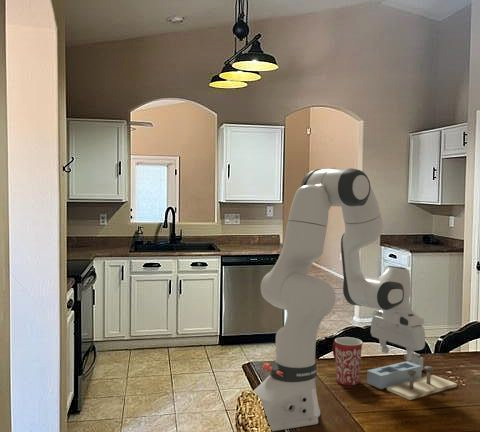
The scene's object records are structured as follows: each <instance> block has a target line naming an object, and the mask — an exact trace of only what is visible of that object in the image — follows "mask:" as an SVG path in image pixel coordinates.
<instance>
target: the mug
mask: <svg viewBox="0 0 480 432" xmlns="http://www.w3.org/2000/svg"><path fill="white" fill-rule="evenodd" d="M363 344H364V343H363V341H362V340H361V339H359V338H357V337H356V338H355V337H350V336H344V337H343V336H342V337H336V338H335V339H334V342H333V343H332V355H333V357H334V363H335V374H336V375H335V378H336V379H335V380H336V382H337V383H339V384H340V385H345V386H355V385H358V384H359V382H360V371H361V361H362V351H363V350H362V348H363Z"/></svg>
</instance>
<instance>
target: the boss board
mask: <svg viewBox="0 0 480 432" xmlns="http://www.w3.org/2000/svg"><path fill="white" fill-rule="evenodd" d="M423 370H426V376H423V377H421V378H419V379H416V380H414V375H416V371H413V370H408V371H407V373H408V374H410V381H408V382H404V383H400V384H396V385H393V386H389V387H387V388H386V391H388V392H390V393H392V394H395V395H398V396H400V397H401V398H404V399H406V400H408V401H411V400H415V399H419V398H421V397H426V396H429V395H432V394H435V393H440V392H443V391H447V390H449V389H450V390H451V389H453V388H456V387H457V385H458V383H456V382H455V381H451V380H448V379H445V378H443V377H440V376H437V375H435V374H431V373H432V372H431V371H434V367H432V366H430V365H426V366H424V367H423Z"/></svg>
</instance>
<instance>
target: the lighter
mask: <svg viewBox="0 0 480 432" xmlns="http://www.w3.org/2000/svg"><path fill="white" fill-rule="evenodd" d="M405 350H406V354H407V353H408V351H407V347H405ZM410 362H411V363H414V364H417V365H420V366H422V371H424V357H422V356H421V353H417V352H415V351H414V352H413V354H412V355H411V361H410Z"/></svg>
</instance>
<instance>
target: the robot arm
mask: <svg viewBox="0 0 480 432" xmlns="http://www.w3.org/2000/svg"><path fill="white" fill-rule="evenodd" d="M331 207H340V208H341V212H342V217H343V222H344V233H343V234H342V235H341V239H340V254H341V255H340V256H341V263H342V273H343V282H342V293H343V297H344V298H345V300H346V301H347V303H348V304H349V305H352V306H359V307H365V308H371V309H375V310H374V311H373V312H372V317H371V322H370V323H371V324H370V335H371V337H373V338H376V339H378V341H379V344H380V347H381V353H383V354H388V353H389V351H390V347H388V346H387V342H389V343H392V344H395V345H398V346H399V347H403V348H406V347H407V350H406V354H403V359H404V361H405V362H406V361H408V362H411V355H412V354H413V352H414V353H415V352H416V351H420V350H423V349H424V348H425V346H426V333H425V332H426V331H425V328H424V326H423V325H424V323H425V318H424V317H423V316H422V315H419V314H418V313H416V312H415V311H414V310H412V307H411V306H412V305H411V303H410V302H411V301H410V299H411V294H412V286H411V285H412V283H411V276H410V275H411V274H410V271H409V270H408V269H407V268H406V267H402V266H394V265H387V266H385V267H384V269H383V270H384V271H383V273H382V274H381V275H380V276H378V277H372V276H371V277H370V276H366V275H364V274H363V273H362V269H361V260H360V259H361V257H360V250H361V249H362V248H365V247H367V246H369V245H371V244H373V243H375V242H376V241H377V240H378V239H379V238H380V236H381V234H382V232H383V227H384V226H383V220H382V214H381V210H380V207H379V203H378V201H377V197H376V195H375V193H374V190H373V188H372V186H371V182H370V179H369V177H368V175H367V174H366V173H365V172H364V171H363V170H361V169H357V168H352V167H351V168H341V167H340V168H337V167H329V168H323V169H320V168H319V169H314V170H312V171H309V172H308V173H306V175H304V177H303V179H302V181H301V184H300V187H298V188H297V190H296V192H295V194H294V196H293V198H292V203H291V205H290V209H289V213H288V219H287V224H286V225H287V226H286V229H285V235H284V241H283V245H282V249H281V252H280V254H279V256H278V259H277V260H276V263H274V266H273V267H272V269H271V270H270V271H268V272H267V273H266V274H265V275H264V276H263V278H262V279H261V282H260V293H261V296H262V298H263V299H264V300H265V301H266V302H268V303H269V304H271V306H273V307H275V308H278V309H281V310H285V311H286V313H287V314H286V315H287V316H286V319H285V322H284V325H283V326H282V327H280V328H279V329H278V330H277V332H276V334H275V359H274V360H273V363H272V364H269V363H267V362H265V363H263V365H262V369H263V371H266V372H267V373H269V375H268V376H267V377H266V378H265V379H264V380H263V381H262V382H261V383H260V384H259V385H258V386H257V387H255V389H254V390H252V392H255V393H256V394H257V395H258V396H259V398H260V400H261V402H262V405H263V408H264V411H265V414H266V416H267V420H268V423H269V425H270V428H271V430H272V431H271V432H277V431H282V430H288V429H295V428H301V427H307V426H314V425H317V424H319V417H320V416H321V409H320V406H319V401H318V396H317V387H316V384H317V382H316V378H317V375H318V374H317V370H318V369H317V362H316V350H317V349H316V348H317V347H316V346H317V345H316V344H317V335H318V330H319V327H320V325H321V322H322V321H323V319H324V318H325V317H326V316H328V315H329V314H330V313H331V312H332V311H333V309H334V307H335V304H336V292H335V289H334V287H333V286H332V285H331V284H330V282H328V281H325V280H323V279H322V278H320V277H318V276H315V275H314V276H313V275H310V274H308V272H309V270H310V268H311V267H312V265H313V263H314V262H315V261H316V260H318V259H320V258H321V256H322V255H323V253H324V247H325V242H326V241H325V240H326V234H327V228H328V222H329V210H330V209H331ZM407 351H408V353H407Z"/></svg>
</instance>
